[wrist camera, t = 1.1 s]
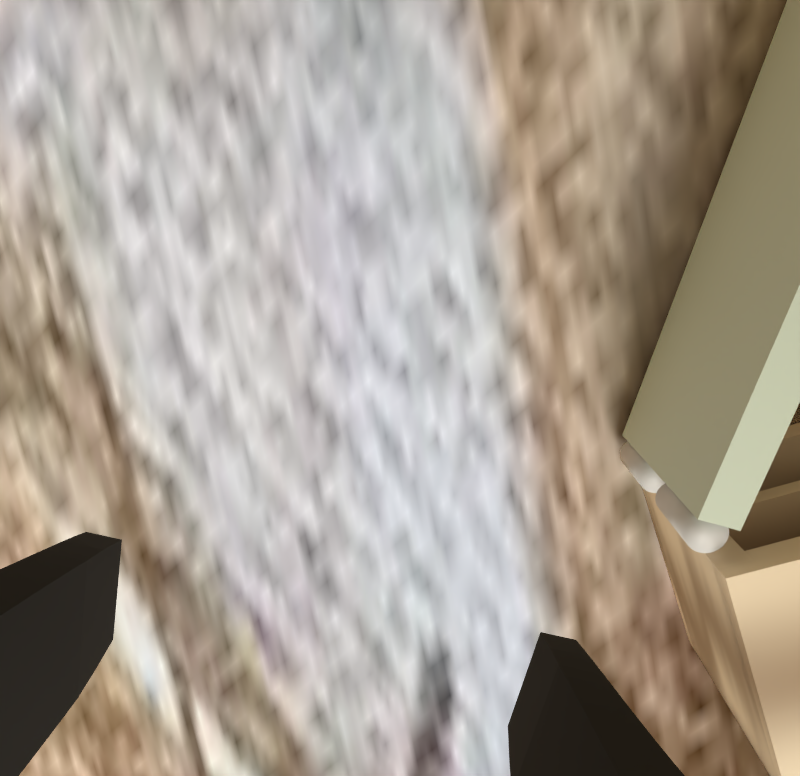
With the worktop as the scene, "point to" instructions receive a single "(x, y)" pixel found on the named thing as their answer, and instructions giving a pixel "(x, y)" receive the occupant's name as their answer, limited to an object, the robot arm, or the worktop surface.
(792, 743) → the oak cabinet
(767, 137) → the cabinet door
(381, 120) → the worktop surface
